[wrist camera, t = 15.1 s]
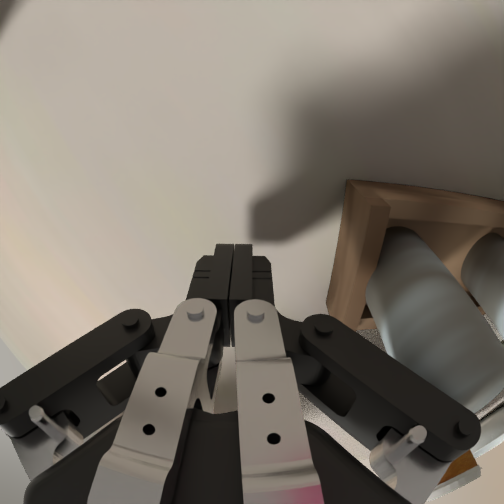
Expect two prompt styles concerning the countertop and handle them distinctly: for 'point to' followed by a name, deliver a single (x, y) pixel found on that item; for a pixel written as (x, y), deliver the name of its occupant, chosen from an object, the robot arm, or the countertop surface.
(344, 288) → the tray
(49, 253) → the countertop surface
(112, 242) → the countertop surface
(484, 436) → the serving bowl
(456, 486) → the disposable coffee cup
